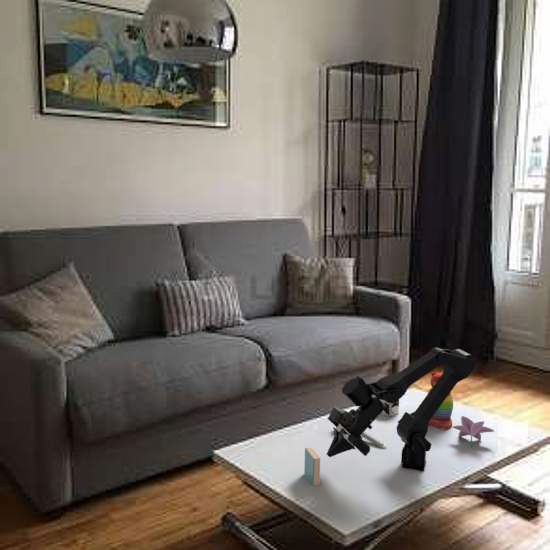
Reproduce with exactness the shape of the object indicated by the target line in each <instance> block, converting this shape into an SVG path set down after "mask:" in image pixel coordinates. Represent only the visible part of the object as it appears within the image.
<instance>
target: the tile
mask: <svg viewBox="0 0 550 550" xmlns="http://www.w3.org/2000/svg"><path fill="white" fill-rule="evenodd" d="M303 470H304V476H305V477H306V479H307V480H308V481H309V483H311V485H312V487H315V486H320V482H321V481H320V480H321V457H320V456H319V454H318V453H317V452H316V451H315V449H314V448H313V447H310V446H309V447H305V448H304V469H303Z"/></svg>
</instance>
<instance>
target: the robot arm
mask: <svg viewBox="0 0 550 550" xmlns="http://www.w3.org/2000/svg"><path fill="white" fill-rule="evenodd" d="M441 365H443V372H442V373H443V374H442V375H441V377H440V378H439V379H438V381H437V382H436V383H435V385H434V386H433V388H432V387H431V388H432V389H431V388H430V389H431V390H430V389H429V390H430V392H429V391H428V392H429V393H428V392H427V395H426V396H425V397H424V399H423V400H422V401H421V403H420V404H419V405H418V406H417V409H416V410H415V411H413V412H410V413H409V412H407V411H406V412H404V413H403V415H402V417H400V420H398V421H397V426H396V434H397V436H399V438H400V440H401V442H403V443H404V446H403V447H402V449H401V462H400V463H401V464H402V465H401V468H403V469H408V470H413V471H419V472H425V469H426V465H427V460H426V459H427V456H426V455H427V452H430V450H431V448H432V443H431V442H430V441H429V440H428V439H427V438H426V435H427V434H428V431H429V426H430V425H429V421H430V420H431V418H432V417H433V416H434V414H435V413H436V411H437V410H438V409H439V407H440V406H441V405H442V403H443V402H444V400H445V399H446V398H447V396H448V395H449V394H450V392H451V393H452V391H453V390H454V388H455V387H456V385H457V384H458V383H460V382H461V381H463V380H465V379H468V378H469V377H470V375H471V374H472V373H473V372H475V370H476V368H477V366H478V363H477V359H476V357H475V356H474V355H472V354H470V353H468V352H466V351H464V350H462V349H460V348H456V349H453V350H450V349H448V348H447V349H446V348H439V347H433V348H431V349H430V351H429V352H427V353H426V354H424V355H423V356H421V357H420V358H418V359H417V360H415V361H414V362H412V363H411V364H409V365H408V366H406V367H404V369H402V370H401V371H399V372H397V373H392V374H388V375H385V376H384V377H381V378H380V379H378V380H377V381H373V382H369V383H366V381H365V380H364V379H363V377H361V376H360V375H357V376H356V377H355V378H351V379H350V380H348V381H346V382H345V383H344V385H343V386H342V389H341V392H342V394H343V395H344V396H345V397H346V398H347V399H348V400H349V401H350V402H351V403H352V404H353V406H356V407H357V409H356V410H355V409H354V408H352V409H350V410H349V411H347V410H345V409H342V408H340V407H337V406H335V405H334V406H333V407H332V409H331V412H330V414H329V416H328V417H327V420H328V421H329V422H330V423H332V424H333V426H334V427H333V428H332V429H333V434H334V436H333V438H332V442H331V444H330V446H329V448H328V450H327V452H326V455H327V456H328V457H329V458H331V457H335V456H336V455H339V454H342V453H344V452H348V451H351V450H358V451H359V452H360V453H361V454H362V455H363V456H364V457H366V456H368V454H369V453H370V452H371V446H370V445H369V444H367V442H366V441H365V440H364V439H363V437H362V436H361V435H362V433H363V432H366V430H367V429H369V430H372V429H373V426H372V423H374V421H375V420H376V419H378V417H379V416H380V415H382V414H381V413H382V412H383V411H384V412H385V413H386V414H387V415H389V414H390V412H389V405H388V404H387V403H383V402H382V401H381V400H385V401H386V402H388V403H395V402H397V401H398V400H399V401H400V399H401V398H402V397H403V396H404V395H405V394H406V393H407V391H408V389H409V388H410V387H411V386H412V385H413V384H415V383H416V382H418V381H419V380H420V379H422V378H424V377H425V376H427V374H430V373H432V371H434V370H435V369H437V368H438V367H440V366H441ZM373 396H374V397H373ZM336 427H337V428H336Z"/></svg>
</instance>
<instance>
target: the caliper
mask: <svg viewBox="0 0 550 550" xmlns="http://www.w3.org/2000/svg"><path fill="white" fill-rule="evenodd" d="M336 428H337V427H336V426H335V429H336ZM361 437H362V438H364V439H365V440H367V441H369V442H370V443H372V444H373V445H374V446H376V447H378V446H379V447H378V448H382V449H384V450H386V449H387V446H385V445H384V442H381V441H380V440H379V439H377V438H375V437H373V436H372V435H371V434H369V433H367V432H366V431H364V432H363V433H362V435H361Z"/></svg>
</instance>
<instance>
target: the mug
mask: <svg viewBox="0 0 550 550" xmlns="http://www.w3.org/2000/svg"><path fill="white" fill-rule="evenodd" d="M381 401H382V402H383V403H387V404H388V405H389V412H390V414H389V415H387V414H386V413H385V412H384V411H383V412H382V413H381V414H380V415H383V416H385V417H396V415H397V416H398V415H399V412H400V410H399V409H400V399H399V400H398V401H397V402H395V403H388V402H386V401H385V400H381Z"/></svg>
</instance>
